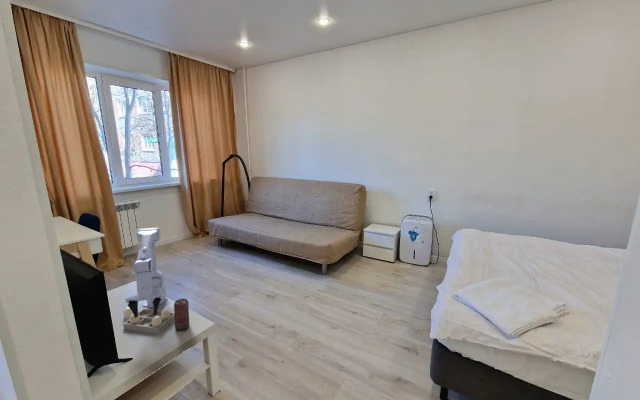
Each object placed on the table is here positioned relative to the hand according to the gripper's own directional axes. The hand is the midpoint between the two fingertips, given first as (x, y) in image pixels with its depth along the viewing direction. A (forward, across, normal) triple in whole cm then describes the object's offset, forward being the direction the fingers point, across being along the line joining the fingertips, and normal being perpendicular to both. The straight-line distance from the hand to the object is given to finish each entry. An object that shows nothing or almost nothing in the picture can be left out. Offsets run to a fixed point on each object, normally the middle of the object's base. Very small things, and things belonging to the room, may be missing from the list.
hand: (146, 315), depth 121 cm
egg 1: (+8, -14, +19) cm, 25 cm away
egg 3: (+9, +2, +6) cm, 11 cm away
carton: (+9, -2, +11) cm, 15 cm away
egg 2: (+8, -8, +11) cm, 16 cm away
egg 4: (+8, +5, +12) cm, 15 cm away
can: (+11, +14, +5) cm, 18 cm away
